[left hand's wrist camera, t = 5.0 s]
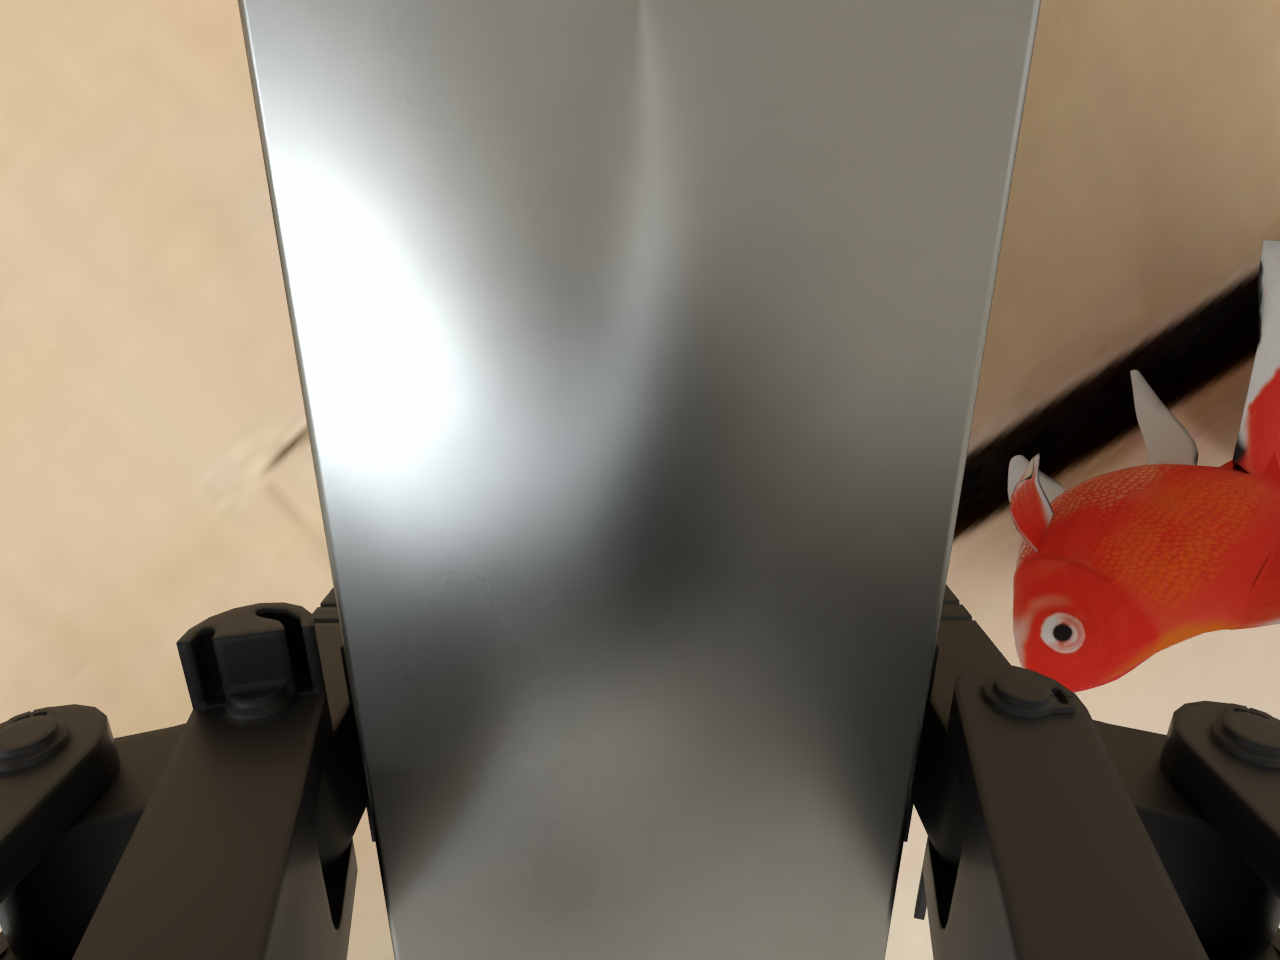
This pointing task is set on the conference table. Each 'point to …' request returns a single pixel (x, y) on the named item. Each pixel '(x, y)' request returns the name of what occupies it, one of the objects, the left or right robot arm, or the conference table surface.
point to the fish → (1154, 535)
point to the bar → (639, 441)
